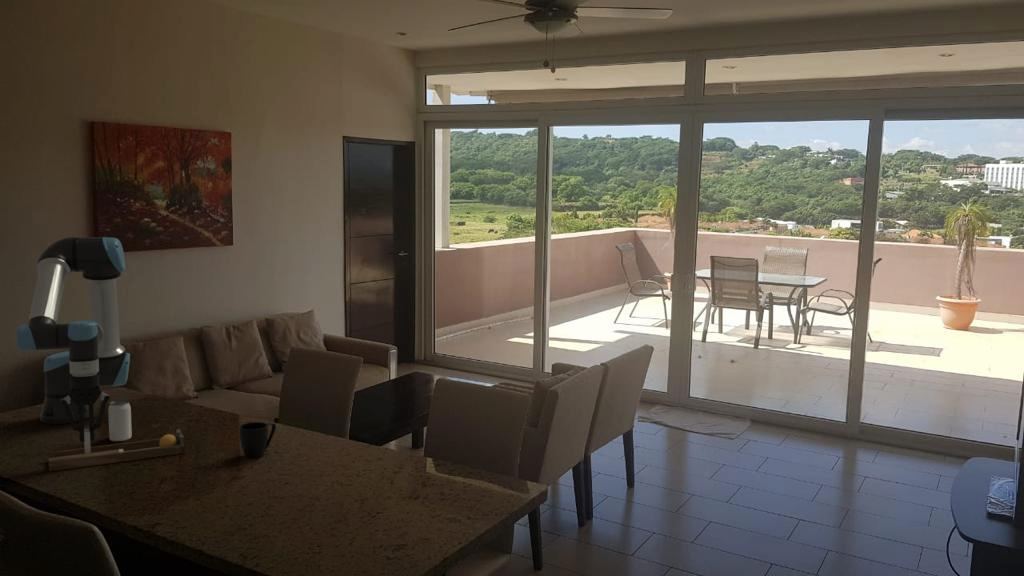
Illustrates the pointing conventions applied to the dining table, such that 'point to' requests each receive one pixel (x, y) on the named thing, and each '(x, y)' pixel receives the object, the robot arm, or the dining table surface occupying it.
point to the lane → (113, 453)
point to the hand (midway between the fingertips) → (87, 451)
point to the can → (119, 421)
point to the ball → (168, 441)
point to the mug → (255, 438)
